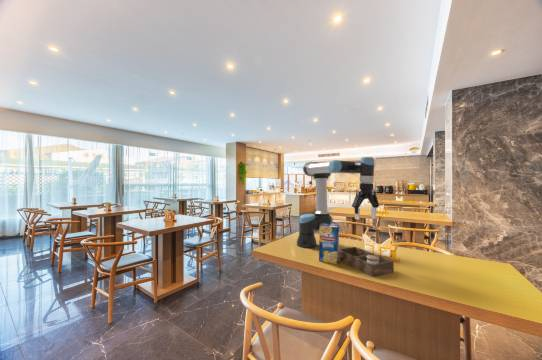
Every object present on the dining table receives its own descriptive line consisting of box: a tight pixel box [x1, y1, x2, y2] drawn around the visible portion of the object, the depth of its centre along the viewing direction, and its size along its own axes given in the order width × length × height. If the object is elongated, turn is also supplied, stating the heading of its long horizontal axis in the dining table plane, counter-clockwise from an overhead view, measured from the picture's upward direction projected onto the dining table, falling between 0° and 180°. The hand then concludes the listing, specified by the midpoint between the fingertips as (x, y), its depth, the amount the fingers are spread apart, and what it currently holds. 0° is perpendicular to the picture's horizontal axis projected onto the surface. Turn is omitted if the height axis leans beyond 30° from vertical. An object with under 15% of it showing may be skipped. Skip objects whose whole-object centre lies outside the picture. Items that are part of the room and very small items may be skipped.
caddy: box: [338, 246, 395, 278], centre depth 129 cm, size 28×16×6 cm, turn 24°
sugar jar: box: [366, 255, 379, 264], centre depth 123 cm, size 7×7×7 cm
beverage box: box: [318, 224, 340, 265], centre depth 135 cm, size 7×11×22 cm, turn 67°
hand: (365, 218), depth 130 cm, fingers open, 13 cm apart
